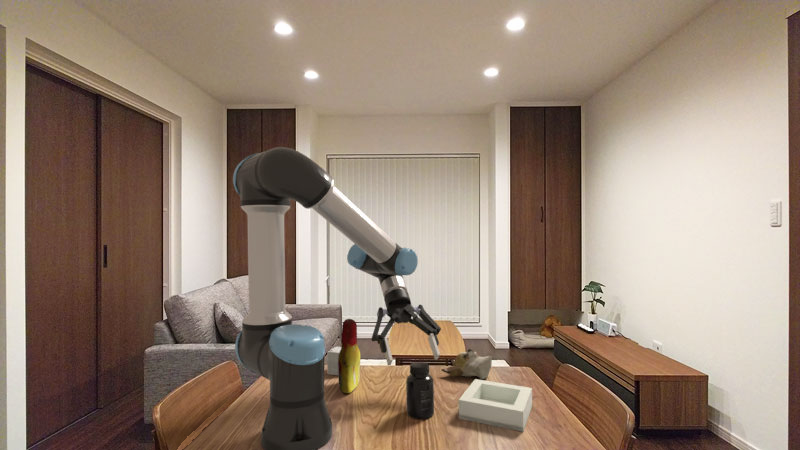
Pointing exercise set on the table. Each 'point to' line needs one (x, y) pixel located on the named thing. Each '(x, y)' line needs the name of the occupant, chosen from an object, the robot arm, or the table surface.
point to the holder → (496, 404)
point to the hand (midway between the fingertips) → (414, 360)
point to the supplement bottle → (420, 391)
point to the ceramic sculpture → (470, 365)
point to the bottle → (349, 357)
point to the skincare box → (333, 360)
